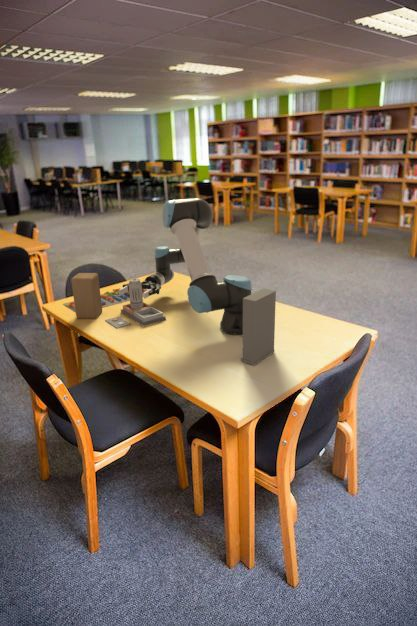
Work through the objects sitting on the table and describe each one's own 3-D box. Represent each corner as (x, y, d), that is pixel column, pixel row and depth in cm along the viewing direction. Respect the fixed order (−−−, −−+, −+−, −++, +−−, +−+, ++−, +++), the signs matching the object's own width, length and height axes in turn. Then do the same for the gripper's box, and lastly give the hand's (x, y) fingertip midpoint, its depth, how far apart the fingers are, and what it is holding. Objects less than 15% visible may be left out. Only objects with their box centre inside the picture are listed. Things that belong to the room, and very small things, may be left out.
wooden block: (103, 311, 216) (98, 272, 208) (96, 319, 206) (91, 278, 199) (83, 311, 217) (78, 272, 209) (75, 319, 207) (69, 278, 200)
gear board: (137, 282, 253) (156, 290, 239) (137, 286, 254) (156, 294, 240) (62, 300, 226) (78, 310, 213) (62, 305, 227) (78, 315, 214)
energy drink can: (131, 312, 209) (128, 282, 204) (130, 308, 215) (128, 278, 210) (143, 311, 210) (141, 281, 205) (143, 307, 216) (140, 277, 211)
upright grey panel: (261, 348, 173) (262, 288, 164) (274, 352, 170) (276, 291, 161) (240, 361, 164) (240, 298, 154) (254, 366, 160) (255, 301, 151)
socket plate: (165, 319, 204) (165, 312, 203) (142, 325, 197) (142, 318, 196) (142, 306, 221) (142, 300, 219) (121, 312, 214) (120, 305, 213)
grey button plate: (130, 324, 199) (130, 323, 199) (116, 328, 195) (116, 327, 195) (119, 317, 208) (118, 315, 208) (105, 320, 204) (105, 319, 204)
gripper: (176, 291, 221) (155, 304, 203) (134, 286, 231) (110, 298, 213) (175, 276, 219) (154, 289, 201) (132, 272, 228) (108, 284, 210)
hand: (131, 294), depth 207 cm, fingers open, 13 cm apart
